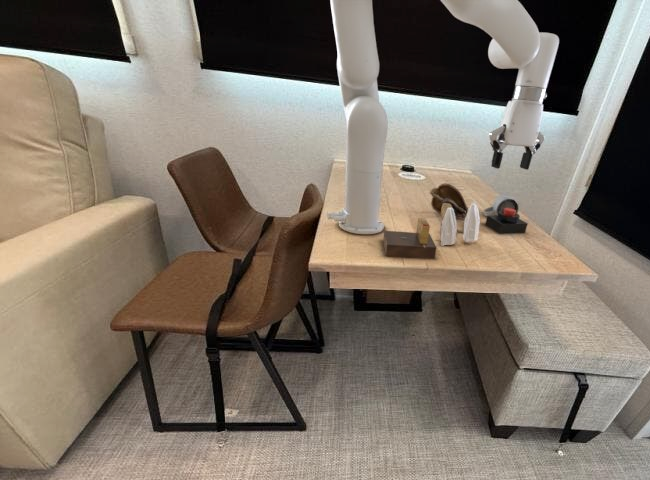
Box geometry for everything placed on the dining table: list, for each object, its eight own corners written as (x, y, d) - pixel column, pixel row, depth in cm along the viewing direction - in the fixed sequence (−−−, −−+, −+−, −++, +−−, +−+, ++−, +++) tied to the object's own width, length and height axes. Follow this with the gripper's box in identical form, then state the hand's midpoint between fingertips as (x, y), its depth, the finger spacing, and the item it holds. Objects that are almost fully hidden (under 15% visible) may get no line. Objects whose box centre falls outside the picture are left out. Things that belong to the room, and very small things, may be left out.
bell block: (499, 234, 101) (503, 218, 98) (484, 224, 107) (488, 209, 104) (524, 233, 105) (529, 217, 102) (509, 224, 111) (513, 209, 108)
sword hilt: (476, 198, 110) (438, 175, 107) (486, 220, 89) (439, 192, 86) (459, 223, 115) (422, 202, 112) (465, 250, 94) (420, 224, 91)
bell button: (507, 217, 101) (509, 211, 100) (500, 213, 104) (502, 207, 103) (516, 216, 103) (518, 211, 102) (509, 213, 105) (511, 207, 105)
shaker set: (474, 239, 94) (483, 201, 88) (481, 245, 91) (491, 205, 85) (435, 240, 91) (443, 200, 85) (441, 246, 87) (449, 204, 81)
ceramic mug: (509, 214, 120) (515, 193, 116) (515, 222, 113) (522, 199, 109) (480, 212, 120) (485, 190, 116) (485, 219, 113) (490, 196, 109)
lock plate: (386, 257, 78) (387, 244, 76) (382, 240, 86) (383, 229, 84) (443, 260, 80) (445, 248, 78) (434, 243, 88) (436, 232, 87)
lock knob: (415, 234, 84) (418, 216, 81) (422, 235, 84) (425, 217, 82) (419, 243, 79) (422, 224, 76) (426, 244, 79) (430, 225, 77)
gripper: (545, 99, 88) (526, 166, 97) (491, 92, 82) (476, 164, 91) (565, 100, 82) (543, 171, 91) (508, 93, 77) (491, 170, 86)
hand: (509, 168), depth 91 cm, fingers open, 9 cm apart
